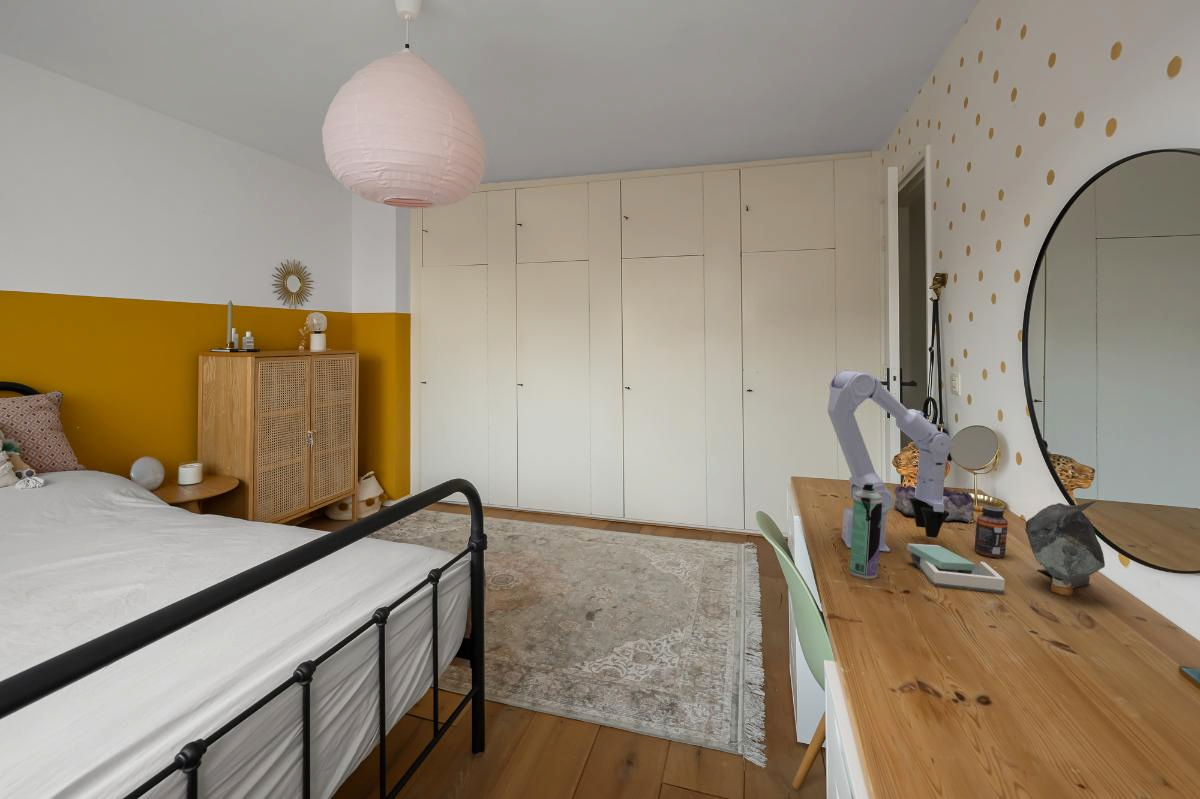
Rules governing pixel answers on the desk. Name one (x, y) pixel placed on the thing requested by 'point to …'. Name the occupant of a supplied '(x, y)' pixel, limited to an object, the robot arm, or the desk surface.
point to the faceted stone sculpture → (1065, 545)
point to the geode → (956, 504)
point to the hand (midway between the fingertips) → (926, 531)
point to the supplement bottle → (991, 532)
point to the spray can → (866, 533)
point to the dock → (964, 577)
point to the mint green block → (940, 558)
